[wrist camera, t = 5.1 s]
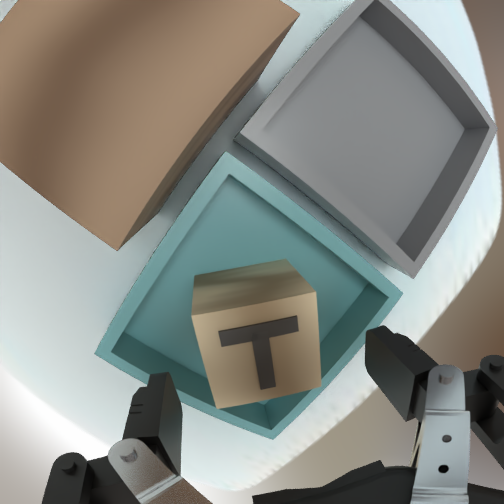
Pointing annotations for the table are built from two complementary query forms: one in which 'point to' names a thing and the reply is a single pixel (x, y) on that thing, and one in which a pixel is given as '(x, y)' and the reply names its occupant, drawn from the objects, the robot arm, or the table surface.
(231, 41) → the walnut stand
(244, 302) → the letter cube
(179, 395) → the teal bin
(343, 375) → the table surface
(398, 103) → the gray bin
